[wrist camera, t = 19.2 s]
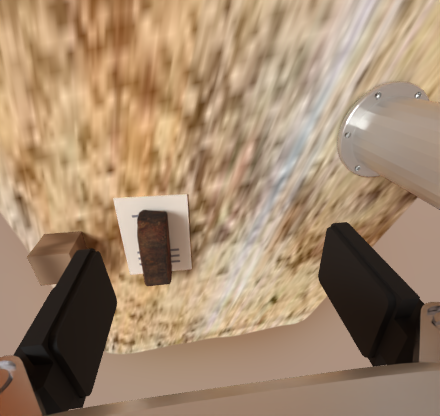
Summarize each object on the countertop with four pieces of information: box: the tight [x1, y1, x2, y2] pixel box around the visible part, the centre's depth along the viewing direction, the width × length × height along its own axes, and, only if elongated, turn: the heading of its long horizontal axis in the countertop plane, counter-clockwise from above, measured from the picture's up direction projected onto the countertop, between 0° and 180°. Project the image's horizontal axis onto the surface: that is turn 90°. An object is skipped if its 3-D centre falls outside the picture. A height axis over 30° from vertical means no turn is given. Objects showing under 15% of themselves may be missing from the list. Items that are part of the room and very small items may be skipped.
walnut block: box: [27, 232, 87, 285], centre depth 37 cm, size 5×5×5 cm
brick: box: [137, 210, 172, 286], centre depth 38 cm, size 11×4×5 cm, turn 179°
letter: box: [113, 194, 192, 275], centre depth 40 cm, size 10×14×1 cm
